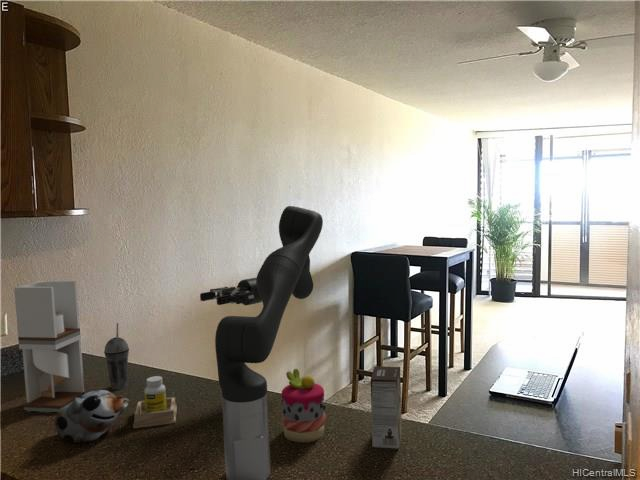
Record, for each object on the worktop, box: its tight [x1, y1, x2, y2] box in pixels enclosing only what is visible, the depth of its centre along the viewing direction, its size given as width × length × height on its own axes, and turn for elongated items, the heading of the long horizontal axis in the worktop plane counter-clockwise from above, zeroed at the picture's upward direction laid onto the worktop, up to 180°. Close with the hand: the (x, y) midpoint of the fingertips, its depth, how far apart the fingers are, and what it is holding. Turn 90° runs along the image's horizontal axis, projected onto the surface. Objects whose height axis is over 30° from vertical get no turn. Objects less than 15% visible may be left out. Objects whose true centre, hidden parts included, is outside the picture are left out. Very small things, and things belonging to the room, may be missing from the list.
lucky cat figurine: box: [54, 389, 130, 444], centre depth 127 cm, size 15×12×14 cm
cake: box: [281, 368, 327, 443], centre depth 124 cm, size 10×11×15 cm
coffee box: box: [370, 366, 403, 450], centre depth 119 cm, size 9×6×16 cm
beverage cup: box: [103, 322, 130, 390], centre depth 159 cm, size 7×7×20 cm
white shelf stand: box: [13, 280, 86, 414], centre depth 146 cm, size 11×11×35 cm
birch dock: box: [132, 396, 178, 429], centre depth 136 cm, size 11×10×3 cm
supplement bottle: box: [144, 375, 167, 413], centre depth 136 cm, size 5×5×10 cm
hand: (208, 299), depth 140 cm, fingers open, 8 cm apart
